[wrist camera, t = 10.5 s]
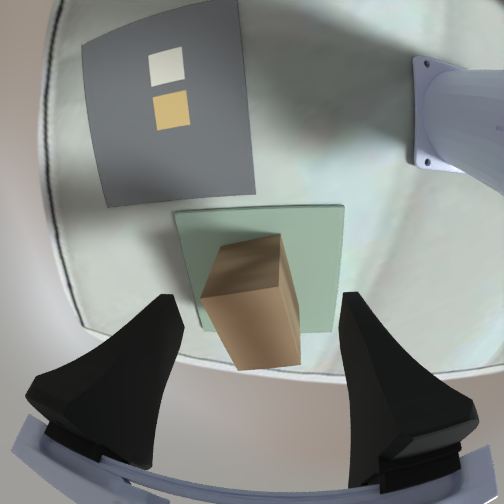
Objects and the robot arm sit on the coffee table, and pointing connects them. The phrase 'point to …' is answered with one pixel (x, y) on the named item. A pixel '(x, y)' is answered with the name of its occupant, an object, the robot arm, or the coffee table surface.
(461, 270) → the coffee table surface
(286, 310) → the walnut block
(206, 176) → the grey flat rectangular plate
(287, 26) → the coffee table surface
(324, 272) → the mat
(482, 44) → the coffee table surface
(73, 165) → the coffee table surface
